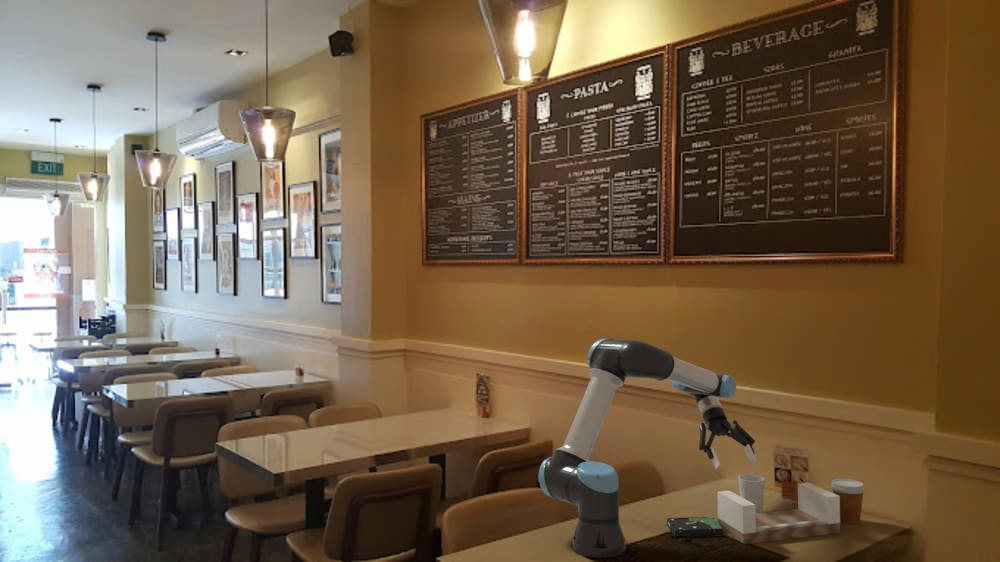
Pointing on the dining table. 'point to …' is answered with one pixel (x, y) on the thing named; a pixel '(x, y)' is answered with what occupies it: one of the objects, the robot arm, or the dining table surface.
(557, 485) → the robot arm
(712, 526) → the disk drive
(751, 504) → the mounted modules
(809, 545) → the dining table surface
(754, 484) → the cup
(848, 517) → the disposable coffee cup
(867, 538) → the dining table surface
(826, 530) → the board
